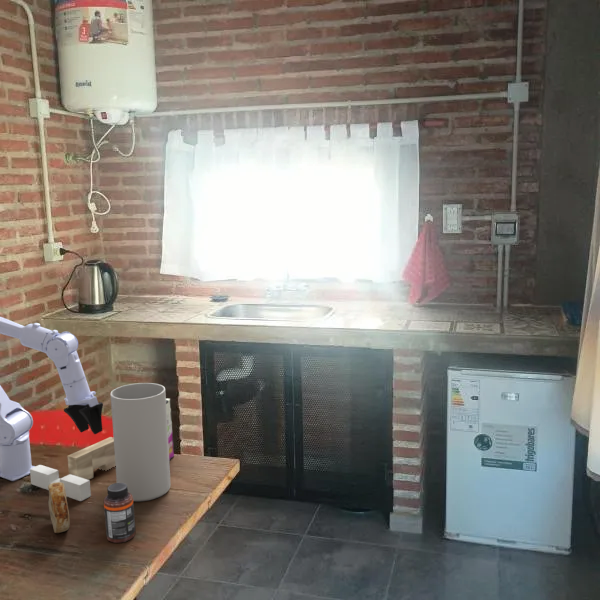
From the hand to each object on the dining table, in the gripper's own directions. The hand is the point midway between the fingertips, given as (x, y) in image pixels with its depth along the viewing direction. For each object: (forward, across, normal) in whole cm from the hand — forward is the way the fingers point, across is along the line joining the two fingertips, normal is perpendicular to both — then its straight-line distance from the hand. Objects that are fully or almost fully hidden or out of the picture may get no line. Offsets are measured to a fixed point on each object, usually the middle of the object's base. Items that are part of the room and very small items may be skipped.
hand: (91, 431), depth 167 cm
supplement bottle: (+16, -28, +13) cm, 35 cm away
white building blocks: (+10, +1, +11) cm, 15 cm away
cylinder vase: (+16, -13, -2) cm, 21 cm away
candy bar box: (+15, -3, -13) cm, 20 cm away
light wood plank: (+11, +4, +1) cm, 12 cm away
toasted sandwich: (+13, -16, +20) cm, 28 cm away
